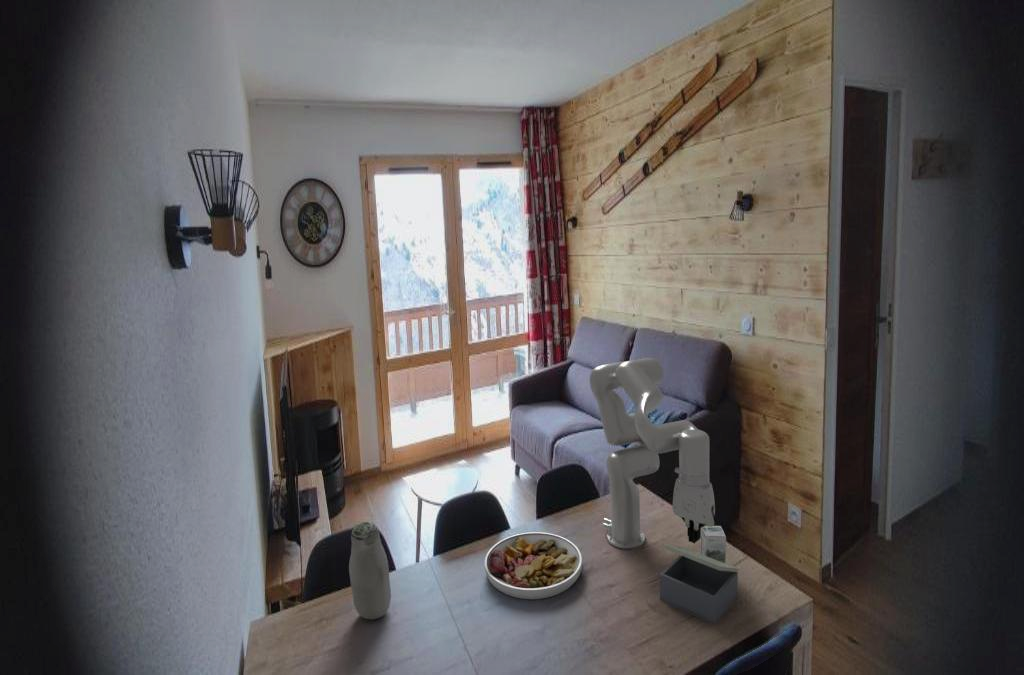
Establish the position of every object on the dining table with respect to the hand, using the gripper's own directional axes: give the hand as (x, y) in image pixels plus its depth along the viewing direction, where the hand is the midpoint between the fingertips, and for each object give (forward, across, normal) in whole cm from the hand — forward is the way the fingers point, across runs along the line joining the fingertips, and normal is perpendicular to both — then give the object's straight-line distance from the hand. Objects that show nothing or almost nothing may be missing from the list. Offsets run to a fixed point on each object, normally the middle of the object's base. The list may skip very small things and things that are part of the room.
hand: (694, 540), depth 148 cm
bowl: (+20, -44, -17) cm, 51 cm away
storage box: (+20, 0, +3) cm, 20 cm away
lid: (+8, 0, +4) cm, 9 cm away
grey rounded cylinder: (+20, -66, -60) cm, 91 cm away
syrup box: (+20, -2, +16) cm, 26 cm away
